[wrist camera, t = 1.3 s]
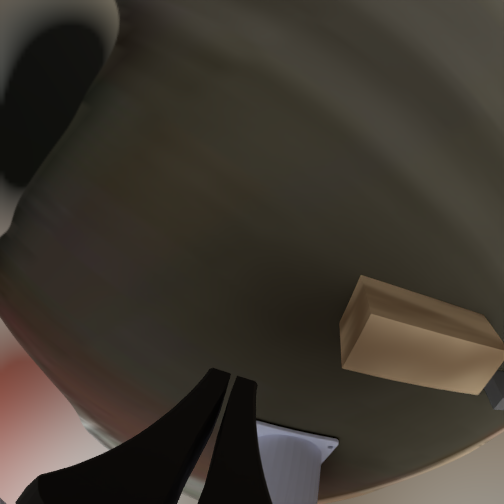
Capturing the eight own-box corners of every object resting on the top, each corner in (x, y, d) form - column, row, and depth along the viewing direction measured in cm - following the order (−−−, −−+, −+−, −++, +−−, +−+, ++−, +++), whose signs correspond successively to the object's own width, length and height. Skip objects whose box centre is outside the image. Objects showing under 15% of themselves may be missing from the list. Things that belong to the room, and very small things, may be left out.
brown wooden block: (458, 353, 18) (478, 394, 14) (339, 321, 19) (341, 368, 15) (482, 313, 16) (509, 351, 12) (360, 273, 17) (371, 313, 13)
